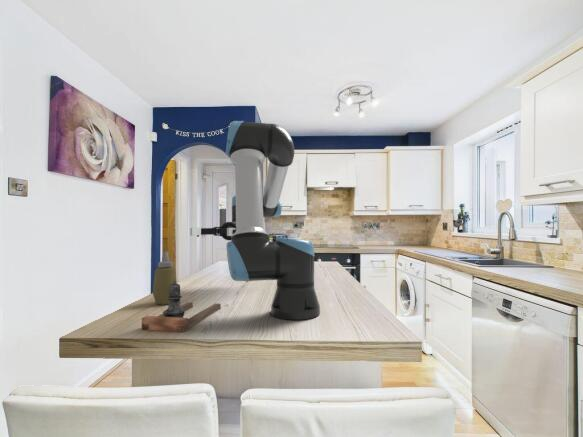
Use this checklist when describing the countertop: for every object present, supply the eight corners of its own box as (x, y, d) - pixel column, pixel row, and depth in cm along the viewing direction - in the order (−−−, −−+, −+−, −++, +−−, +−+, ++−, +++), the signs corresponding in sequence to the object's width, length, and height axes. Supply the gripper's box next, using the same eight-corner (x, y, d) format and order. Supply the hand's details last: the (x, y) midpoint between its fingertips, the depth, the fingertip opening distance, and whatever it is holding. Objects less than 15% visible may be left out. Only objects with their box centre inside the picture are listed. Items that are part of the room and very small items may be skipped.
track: (220, 308, 99) (220, 299, 99) (183, 332, 77) (183, 320, 77) (187, 306, 101) (187, 297, 102) (141, 329, 79) (141, 317, 79)
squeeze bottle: (171, 306, 102) (172, 252, 103) (148, 306, 102) (148, 252, 103) (181, 300, 110) (181, 250, 111) (159, 300, 110) (159, 250, 111)
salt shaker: (177, 328, 80) (178, 282, 80) (158, 326, 81) (158, 281, 81) (189, 321, 85) (190, 278, 86) (171, 320, 87) (171, 278, 87)
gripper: (261, 240, 123) (243, 243, 102) (204, 239, 128) (176, 242, 107) (261, 221, 124) (243, 220, 103) (204, 222, 128) (176, 221, 107)
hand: (209, 231), depth 105 cm, fingers open, 13 cm apart
